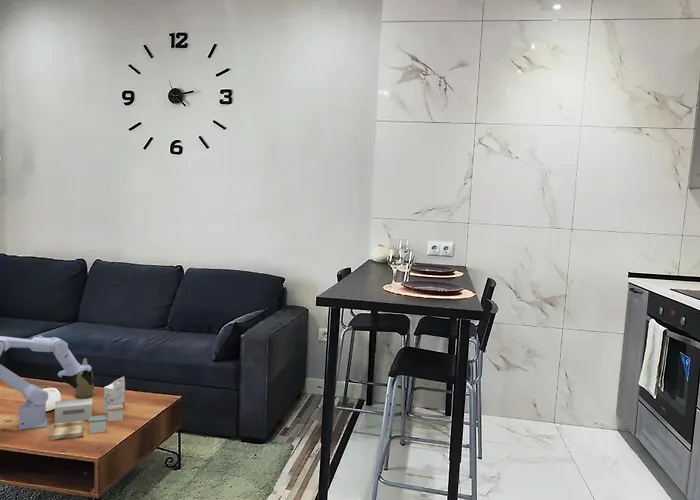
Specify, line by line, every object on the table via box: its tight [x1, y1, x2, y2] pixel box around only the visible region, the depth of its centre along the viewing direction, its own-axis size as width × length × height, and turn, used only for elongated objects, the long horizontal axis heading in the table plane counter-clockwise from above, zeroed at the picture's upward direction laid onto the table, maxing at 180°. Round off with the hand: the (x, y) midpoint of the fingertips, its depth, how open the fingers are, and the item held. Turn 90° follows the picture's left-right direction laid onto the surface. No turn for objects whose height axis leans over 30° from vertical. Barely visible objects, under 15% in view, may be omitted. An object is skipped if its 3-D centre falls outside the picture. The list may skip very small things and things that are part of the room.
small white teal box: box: [88, 414, 107, 434], centre depth 228 cm, size 6×4×6 cm
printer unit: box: [54, 397, 93, 424], centre depth 237 cm, size 14×8×7 cm, turn 115°
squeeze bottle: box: [74, 358, 95, 399], centre depth 262 cm, size 8×8×18 cm
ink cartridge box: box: [103, 376, 126, 414], centre depth 248 cm, size 9×5×15 cm, turn 168°
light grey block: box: [106, 404, 124, 423], centre depth 239 cm, size 6×4×6 cm
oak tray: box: [49, 421, 85, 442], centre depth 224 cm, size 12×12×2 cm
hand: (84, 385), depth 244 cm, fingers open, 7 cm apart
